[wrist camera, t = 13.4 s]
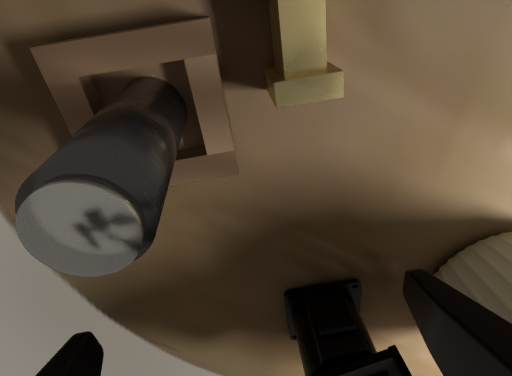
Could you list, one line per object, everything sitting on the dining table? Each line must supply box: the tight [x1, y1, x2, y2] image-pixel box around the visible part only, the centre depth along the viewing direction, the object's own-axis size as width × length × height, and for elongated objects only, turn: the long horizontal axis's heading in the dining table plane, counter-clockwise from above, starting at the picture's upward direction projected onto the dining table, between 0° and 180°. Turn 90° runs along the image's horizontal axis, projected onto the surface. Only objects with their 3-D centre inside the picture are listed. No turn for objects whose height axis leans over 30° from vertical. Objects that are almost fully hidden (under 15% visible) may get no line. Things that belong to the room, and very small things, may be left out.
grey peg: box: [15, 77, 187, 277], centre depth 13 cm, size 4×4×11 cm
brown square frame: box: [29, 16, 239, 186], centre depth 17 cm, size 8×8×2 cm
